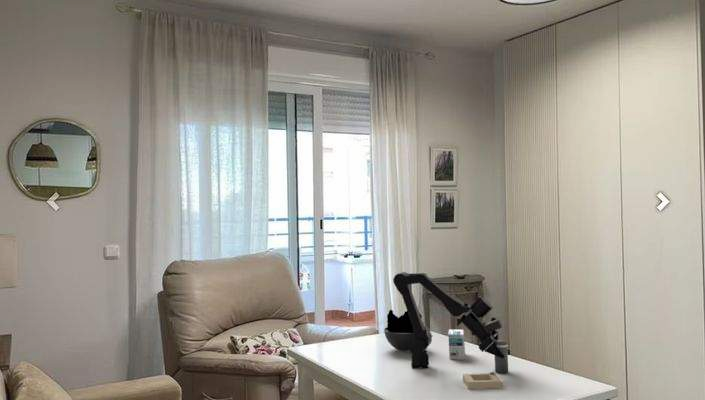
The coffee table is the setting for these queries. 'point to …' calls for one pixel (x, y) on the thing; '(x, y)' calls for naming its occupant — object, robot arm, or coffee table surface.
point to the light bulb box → (456, 344)
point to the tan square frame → (482, 381)
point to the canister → (502, 363)
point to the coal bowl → (400, 331)
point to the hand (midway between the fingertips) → (504, 355)
